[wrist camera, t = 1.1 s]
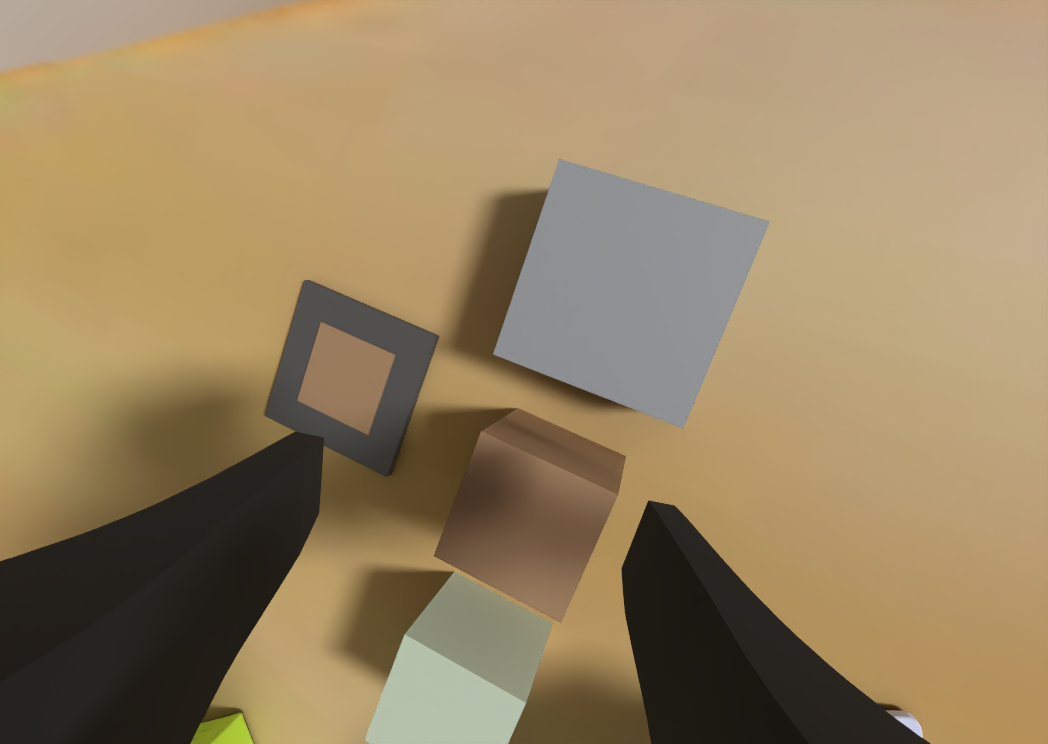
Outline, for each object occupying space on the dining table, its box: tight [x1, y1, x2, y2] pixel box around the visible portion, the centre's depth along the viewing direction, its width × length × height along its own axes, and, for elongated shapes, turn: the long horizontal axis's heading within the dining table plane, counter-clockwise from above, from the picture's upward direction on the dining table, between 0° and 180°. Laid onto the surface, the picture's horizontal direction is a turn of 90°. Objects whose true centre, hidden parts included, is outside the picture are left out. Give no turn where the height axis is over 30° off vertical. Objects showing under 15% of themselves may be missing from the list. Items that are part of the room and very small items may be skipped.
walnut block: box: [434, 408, 626, 623], centre depth 20 cm, size 5×5×5 cm
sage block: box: [365, 572, 553, 744], centre depth 21 cm, size 5×5×5 cm
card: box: [265, 280, 439, 477], centre depth 24 cm, size 7×7×1 cm
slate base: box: [493, 159, 769, 428], centre depth 19 cm, size 7×7×4 cm
